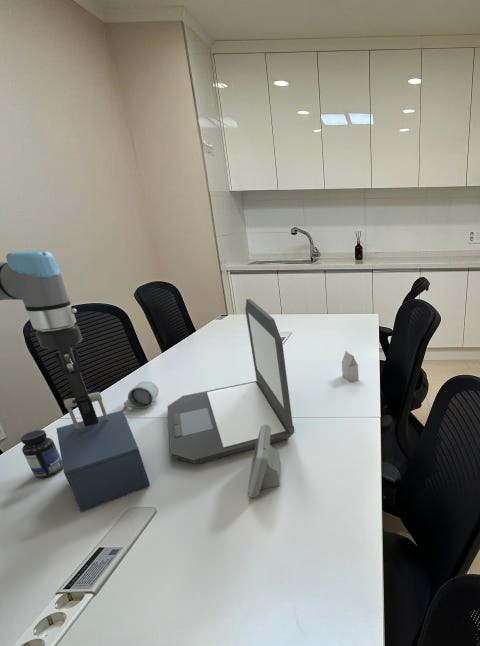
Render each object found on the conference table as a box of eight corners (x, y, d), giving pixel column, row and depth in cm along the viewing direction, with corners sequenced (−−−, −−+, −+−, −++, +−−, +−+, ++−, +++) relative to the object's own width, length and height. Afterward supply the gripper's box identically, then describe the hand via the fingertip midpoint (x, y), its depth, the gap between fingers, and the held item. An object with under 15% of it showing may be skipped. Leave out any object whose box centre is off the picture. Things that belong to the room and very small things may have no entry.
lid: (57, 430, 92) (43, 400, 88) (123, 412, 100) (114, 383, 95) (65, 475, 80) (49, 442, 76) (139, 450, 88) (129, 419, 84)
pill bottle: (63, 461, 102) (48, 425, 98) (65, 472, 98) (49, 434, 94) (34, 471, 99) (16, 434, 94) (34, 482, 95) (16, 444, 90)
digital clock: (255, 458, 101) (249, 423, 97) (289, 457, 101) (284, 422, 97) (235, 500, 87) (226, 461, 82) (275, 499, 87) (268, 460, 82)
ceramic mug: (162, 397, 137) (156, 377, 134) (155, 407, 130) (149, 386, 127) (129, 401, 135) (122, 381, 132) (121, 411, 128) (114, 390, 125)
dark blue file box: (75, 475, 97) (61, 442, 93) (137, 455, 104) (127, 423, 100) (80, 512, 85) (65, 475, 80) (150, 485, 92) (139, 451, 88)
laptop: (168, 405, 131) (142, 307, 118) (261, 385, 144) (247, 295, 131) (173, 473, 96) (137, 345, 83) (295, 439, 109) (281, 324, 96)
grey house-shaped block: (349, 381, 146) (348, 356, 142) (342, 375, 151) (341, 351, 147) (358, 379, 147) (357, 355, 143) (351, 373, 153) (349, 349, 149)
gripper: (80, 330, 80) (114, 429, 89) (75, 317, 91) (105, 406, 100) (34, 338, 76) (74, 440, 85) (34, 323, 86) (70, 415, 96)
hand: (91, 421), depth 93 cm, fingers closed on lid, 2 cm apart
